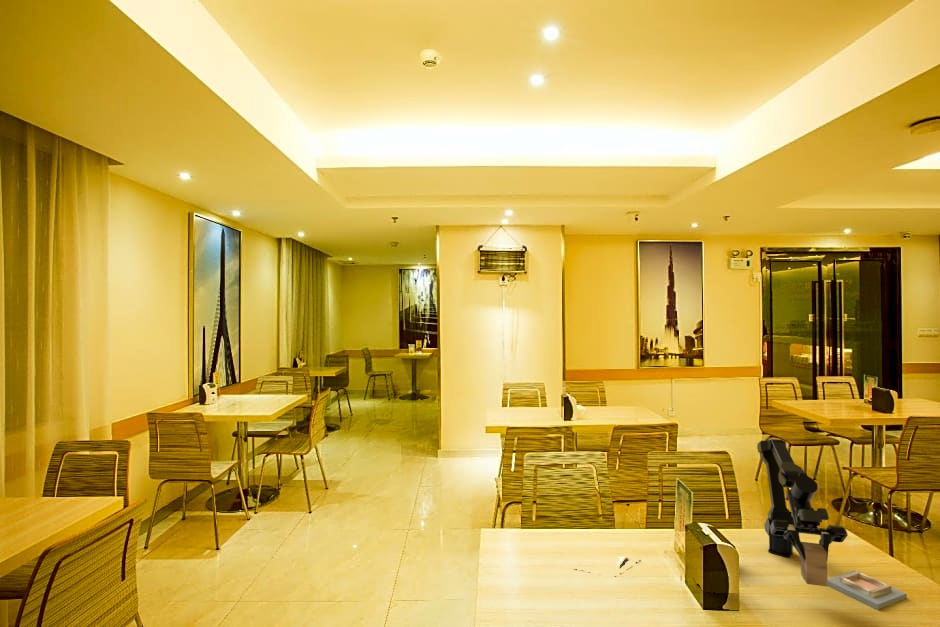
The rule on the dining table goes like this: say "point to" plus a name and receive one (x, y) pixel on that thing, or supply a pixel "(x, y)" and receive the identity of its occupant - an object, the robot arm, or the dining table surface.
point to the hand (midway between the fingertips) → (815, 560)
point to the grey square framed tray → (866, 589)
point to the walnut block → (814, 564)
